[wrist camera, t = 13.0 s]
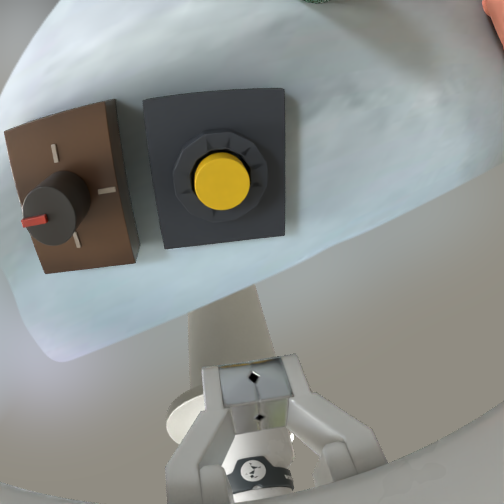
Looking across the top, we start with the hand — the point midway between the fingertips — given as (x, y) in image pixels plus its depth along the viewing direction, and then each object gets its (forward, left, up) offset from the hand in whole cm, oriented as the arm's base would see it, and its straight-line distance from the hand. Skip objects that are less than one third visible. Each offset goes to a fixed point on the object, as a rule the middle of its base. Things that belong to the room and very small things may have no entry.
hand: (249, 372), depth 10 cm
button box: (+2, 0, -19) cm, 19 cm away
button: (+2, 0, -15) cm, 15 cm away
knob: (+2, +12, -15) cm, 19 cm away
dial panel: (+2, +12, -19) cm, 22 cm away
